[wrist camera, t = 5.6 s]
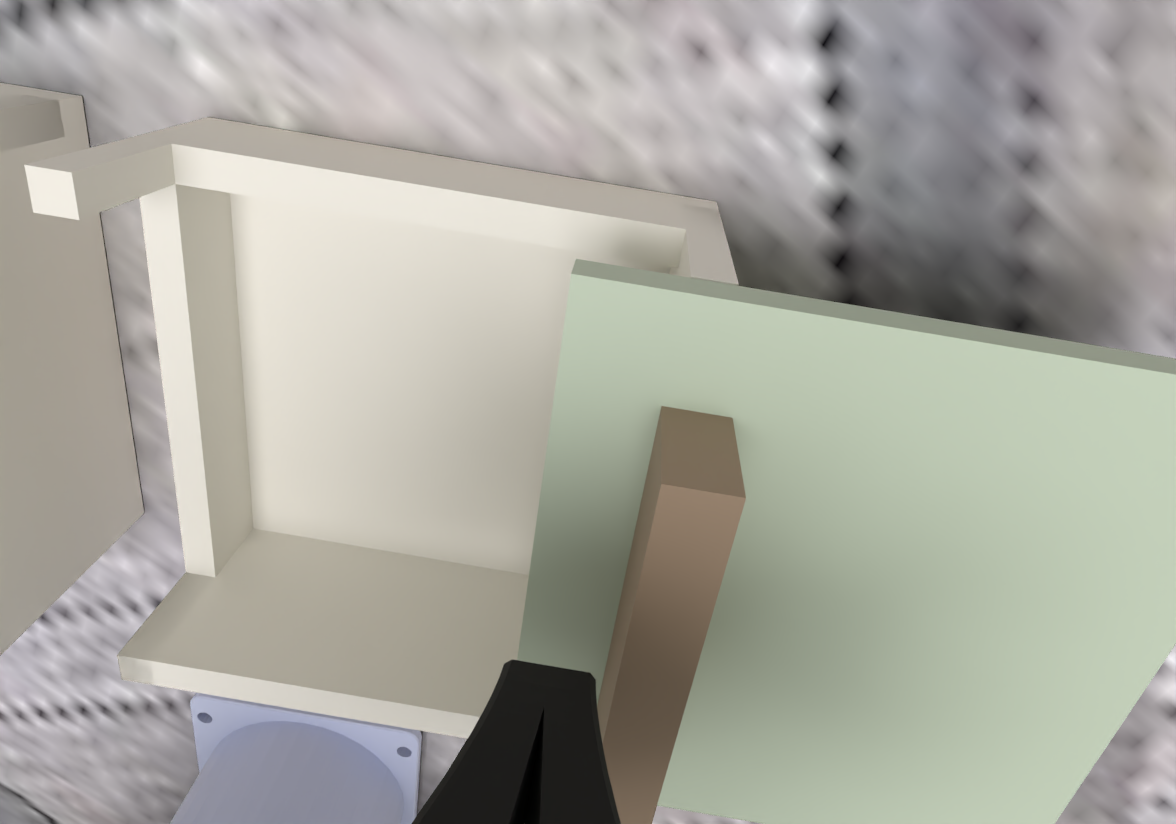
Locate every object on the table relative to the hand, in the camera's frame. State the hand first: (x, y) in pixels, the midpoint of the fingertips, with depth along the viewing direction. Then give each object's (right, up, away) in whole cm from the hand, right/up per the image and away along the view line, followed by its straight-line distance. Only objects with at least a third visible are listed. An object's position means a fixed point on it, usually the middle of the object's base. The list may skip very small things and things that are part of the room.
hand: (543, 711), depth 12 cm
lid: (+6, +1, +3) cm, 7 cm away
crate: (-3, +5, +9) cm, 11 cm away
